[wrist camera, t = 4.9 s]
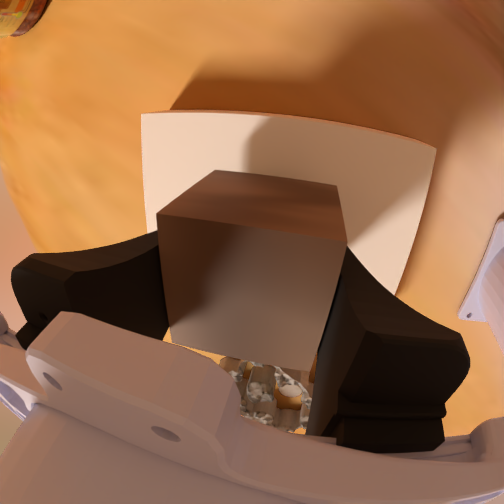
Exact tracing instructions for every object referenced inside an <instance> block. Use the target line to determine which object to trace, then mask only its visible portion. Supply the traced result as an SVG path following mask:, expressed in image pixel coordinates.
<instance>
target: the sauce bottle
mask: <svg viewBox="0 0 504 504" xmlns="http://www.w3.org/2000/svg"><path fill="white" fill-rule="evenodd" d="M46 2H47V0H0V38H6V37H8V36H13V37H16V36H20V35H23V34H25V33H26V32H27V31H29V30H30V29H31V27H32V26H33V25H34V24H35V23H36V22H37V20H38V19H39V17H40V15H41V13H42V11H43V9H44V7H45V4H46Z"/></svg>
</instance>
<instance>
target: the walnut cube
mask: <svg viewBox="0 0 504 504" xmlns="http://www.w3.org/2000/svg"><path fill="white" fill-rule="evenodd" d="M156 220H157V232H158V243H159V253H160V262H161V271H162V279H163V287H164V294H165V301H166V308H167V315H168V321H169V327H170V333H171V339H172V343H175V344H179V345H183V346H187V347H190V348H194V349H198V350H202V351H206V352H210V353H215V354H219V355H223V356H228V357H232V358H237V359H241V360H246V361H251V362H256V363H261V364H267V365H272V366H278V367H283V368H289V369H295V370H302V371H309V372H310V370H311V367H312V365H313V362H314V359H315V356H316V353H317V350H318V346H319V343H320V340H321V337H322V334H323V331H324V328H325V324H326V321H327V318H328V314H329V311H330V307H331V304H332V300H333V297H334V293H335V290H336V286H337V282H338V279H339V275H340V271H341V267H342V263H343V259H344V255H345V251H346V247H347V243H348V241H347V235H346V230H345V224H344V219H343V213H342V208H341V203H340V198H339V194H338V189H337V186H336V185H331V184H325V183H318V182H312V181H306V180H299V179H292V178H285V177H277V176H270V175H261V174H253V173H244V172H235V171H225V170H214V171H212V172H211V173H209V174H208V175H207V176H205V177H204V178H202V179H201V180H200V181H198V182H197V183H196V184H194V185H193V186H191V187H190V188H189V189H187V190H186V191H185V192H183V193H182V194H181V195H179V196H178V197H177V198H175V199H174V200H173V201H171V202H170V203H169V204H168V205H166V206H165V207H164V208H162V209H161V210H160V211H159V212H157V213H156Z"/></svg>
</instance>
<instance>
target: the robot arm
mask: <svg viewBox="0 0 504 504" xmlns="http://www.w3.org/2000/svg"><path fill="white" fill-rule="evenodd" d="M11 282H12V288H13V291H14V294H15V296H16V298H17V301H18V303H19V305H20V307H21V309H22V312H23V314H24V316H25V318H26V320H27V323H26V324H25V325H24V326H23V327H22V328H21V329H20V330H19V331H18V332H17V333H16V332H15V331H13V330H11V329H10V328H9V327H8V324H7V321H6V320H5V318H4V316H3V314H2V313H1V312H0V401H1V402H2V403H3V404H4V405H5V406H6V407H7V408H9V409H10V410H11V411H12V412H13V413H14V414H15V415H16V416H18V417H19V418H20V419H21V420H22V421H23V422H22V424H21V425H20V427H19V428H18V430H17V431H16V433H15V434H14V436H13V437H12V439H11V441H10V442H9V444H8V445H7V447H6V449H5V450H4V451H3V453H2V455H1V456H0V504H484V503H486V502H488V501H490V500H492V499H494V498H496V497H498V496H499V495H501V494H503V493H504V417H500V418H494V419H489V420H486V421H484V422H483V423H481V424H480V425H478V426H477V427H476V428H475V429H474V430H473V431H472V432H471V434H468V435H460V436H452V437H444V430H443V424H442V418H444V417H445V416H446V408H445V402H446V401H447V400H448V399H449V398H450V397H451V395H452V394H453V393H454V392H455V391H456V390H457V388H458V387H459V386H460V385H461V383H462V382H463V380H464V379H465V377H466V376H467V374H468V371H469V368H470V357H469V354H468V351H467V349H466V346H465V343H464V341H463V338H462V336H461V334H460V333H458V332H456V331H454V330H451V329H449V328H447V327H445V326H443V325H440V324H438V323H436V322H434V321H433V320H431V319H429V318H427V317H425V316H424V315H422V314H420V313H419V312H417V311H415V310H414V309H412V308H411V307H409V306H408V305H407V304H405V303H404V302H402V301H401V300H400V299H398V298H397V297H396V296H394V295H393V294H392V293H391V292H390V291H388V290H387V289H386V288H385V287H384V286H383V285H382V284H381V283H379V282H378V281H377V280H376V279H375V277H374V276H373V275H372V274H371V273H370V272H369V271H368V270H367V269H366V268H365V267H364V266H363V264H362V263H361V262H360V261H359V260H358V259H357V257H356V256H355V255H354V254H353V252H352V251H351V250H350V249H349V247H348V246H347V247H346V251H345V255H344V259H343V263H342V267H341V271H340V275H339V279H338V282H337V286H336V290H335V293H334V297H333V300H332V304H331V307H330V311H329V314H328V318H327V321H326V324H325V328H324V331H323V334H322V337H321V340H320V343H319V346H318V352H317V364H316V372H315V380H314V387H313V394H312V401H311V406H310V412H309V418H308V423H307V428H306V433H305V435H303V434H295V433H290V432H287V431H283V430H280V429H277V428H274V427H271V426H268V425H265V424H263V423H260V422H257V421H254V420H251V419H249V418H246V417H243V416H241V414H240V404H241V395H240V393H239V390H238V388H237V385H236V383H235V380H234V378H233V377H232V376H231V375H230V374H228V373H227V372H226V371H225V370H224V369H222V368H221V367H220V366H219V365H218V364H216V363H215V362H214V361H213V360H212V359H211V358H208V357H206V356H203V355H201V354H199V353H196V352H194V351H192V350H189V349H187V348H185V347H182V346H178V345H175V344H171V343H168V342H164V341H162V340H163V338H164V336H165V334H166V332H167V330H168V328H169V321H168V315H167V308H166V301H165V294H164V287H163V279H162V271H161V262H160V253H159V243H158V232H157V230H156V231H153V232H150V233H148V234H145V235H142V236H139V237H137V238H134V239H131V240H127V241H124V242H120V243H117V244H113V245H109V246H104V247H99V248H94V249H88V250H82V251H74V252H63V253H34V254H31V255H29V256H28V257H26V258H25V259H24V260H23V261H21V262H20V263H19V264H18V265H16V266H15V267H14V268H13V270H12V272H11ZM468 313H469V314H468ZM458 317H459V318H460V319H461V320H471V321H481V322H488V324H489V326H490V328H491V330H492V332H493V334H494V336H495V338H496V340H497V342H498V345H499V347H500V349H501V351H502V353H503V355H504V219H499V220H498V221H497V223H496V225H495V228H494V231H493V233H492V236H491V239H490V242H489V244H488V247H487V250H486V252H485V255H484V257H483V259H482V262H481V264H480V267H479V269H478V271H477V274H476V276H475V278H474V280H473V282H472V285H471V287H470V289H469V291H468V293H467V295H466V297H465V299H464V301H463V303H462V305H461V307H460V309H459V311H458Z"/></svg>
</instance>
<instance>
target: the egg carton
mask: <svg viewBox="0 0 504 504" xmlns="http://www.w3.org/2000/svg"><path fill="white" fill-rule="evenodd" d="M249 362H251V361H249ZM251 363H252V364H253V365H254V367H253V368H252V371H251V374H250V377H249V380H247V379H245V378H243V373H244V370H245V367H246V364H247V361H246V360H235V359H232V358H229V357H225V358H223V359H221V360H220V364H219V366H220V367H221V368H222V369H224V370H225V371H226V372H227V373H228V374H230V375H231V376H232V377H233V378H234V380H235V383H236V385H237V388H238V390H239V393H240V395H241V404H240V414H241V415H242V416H244V417H246V418H249V419H251V420H254V421H257V422H260V423H263V424H265V425H268V426H271V427H274V428H277V429H280V430H283V431H287V432H288V431H292V432H294V431H295V430H296V429H298V428H301V427H303V429H306V428H307V423H308V418H309V412H310V406H311V401H312V394H313V387H314V384H313V383H310V382H309V374H310V372H309V371H302V370H295V369H289V368H283V367H278V366H274V367H275V368H276V369H275V368H274V367H272V366H270V365H267V364H261V363H256V362H251ZM276 380H277V383H278V387H279V392H280V393H281V394H282V395H284V396H287V397H297V396H299V395H301V394H302V392H303V394H302V398H301V402H302V406H301V410H298V411H296V410H293V409H279V408H277V407H276V406H277V400H276V398H275V397H274V390H275V385H276Z"/></svg>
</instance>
